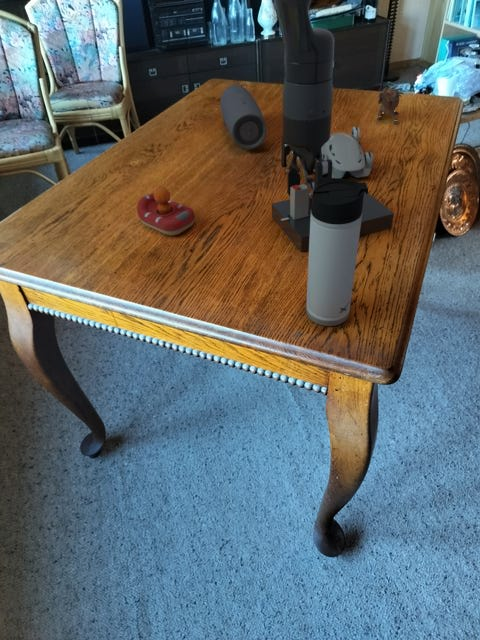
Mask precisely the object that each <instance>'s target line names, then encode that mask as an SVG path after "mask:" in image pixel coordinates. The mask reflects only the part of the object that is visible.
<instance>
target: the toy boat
mask: <svg viewBox="0 0 480 640" xmlns="http://www.w3.org/2000/svg"><path fill="white" fill-rule="evenodd" d="M136 212H137V216H138V218H139V220H140V221H141V223H142V224H144V226H146V227H148V228H150V229H153V230H155V231H157V232H159V233H161V234H163V235H166V236H172V237H173V236H177V235H180V234H181V233H182V232H185V231H186V230H188V229H189V228H191V227H192V226H193V225H194V223H195V220H196V213H195V211H194V210H193V208H191V207H189V206H186V205H184V204H181V203H180V202H179V203H178V202H176V201H174V200H171V193H170V190H169V189H168V188H166V187H163V186H161V187H157V188H156V189H155V190H154V192H153V193H148V194H145V195H143V196H142V197H141V198H140V199H139V200H138V202H137V205H136Z"/></svg>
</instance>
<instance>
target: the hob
mask: <svg viewBox="0 0 480 640" xmlns="http://www.w3.org/2000/svg"><path fill="white" fill-rule="evenodd" d="M394 215H395V213H394V212H393V211H392V210H390V209H389V208H388V207H386V206H385V205H384V204H383V203H381V201H380V200H378V199H377V198H376V197H374V196H373V195H372V194H370V193H369V192H368V194H366V192H365V193H364V198H363V207H362V218H361V219H362V220H361V227H360V235H359V238H360V237H363V236H367V235H371V234H374V233H378V232H382V231H385V230H390V229H392V227H393V221H394ZM271 218H272V220H273V221H274V222H275V223H276V224H277V226H278V227H279V228H280V229H281V230H282V231H283V232H284V234H285V236H287V238H289V240H290V241H291V242H292V243H293V245H294V246H295V247H296V248H297V249H298V250H299V252H300V253H303V252H304V253H305V252H307V251H308V252H309V239H310V216H308V217H304V218H300V219H296V220H294V219H293V218H292V217H291V216H290V198H289V199H285V200H281V201H276V202H272V203H271Z"/></svg>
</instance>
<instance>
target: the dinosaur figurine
mask: <svg viewBox="0 0 480 640" xmlns="http://www.w3.org/2000/svg"><path fill="white" fill-rule="evenodd" d="M398 86H399V85H398V84H397V85H394V86H393V87H389V85H387V86H386V87H385V88H384V89H383V90H382V91H380V93H379V94H378V101H377V103H378V105H380V106H379V107H378V113H377V118H376V120H378V121H382V120H383V119H382V118H383V116H384V115H385V114H387V115H389V114H390V115H391V116H392V119H393V124H394V125H399V124H400V123H399V120H398V118H397V115H398V114H399V112H398V111H397V112H394V110H396V109H397V108H398V106H399V104H400V98H402V96H403V95H404V94H405V93H404V92H402V91H403V90H404V88H402V87H398ZM397 87H398V88H397ZM382 112H384V114H382ZM378 116H382V117H378ZM394 120H398V121H394Z"/></svg>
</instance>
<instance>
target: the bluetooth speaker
mask: <svg viewBox="0 0 480 640" xmlns="http://www.w3.org/2000/svg"><path fill="white" fill-rule="evenodd" d="M219 101H220V102H219V106H220V111H221V112H220V113H221V117H222V120H223V122H224V123H223V124H224V125H225V128H226V130H227V132H228V133H229V135H230V137H231V140H232V141H233V143H235V144H236V145H237V146H238V148H241V149H243V150H253V149H256V148H258V147H260V146H261V145H262V144H263V143H264V141H265V139H266V137H267V133H268V129H267V122H266V119H265V117H264V115H263V112H262V110H261V108H260V107H259V104H258V102H257V101H256V99H255V98H254V96H253V95H252V94H251V93H250V91H249V90H248V89H247V88H245V87H244V86H242V85H240V84H232V85H229V86H227V87H226V88H225V89H224V90H223V91H222V94H221V95H220V100H219Z"/></svg>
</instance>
